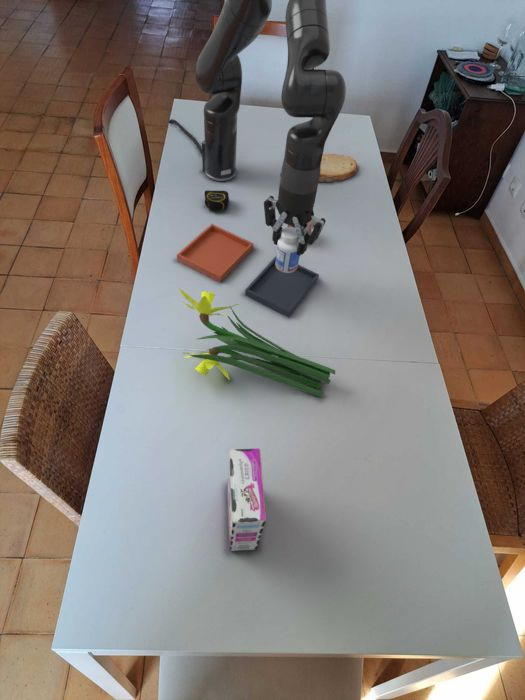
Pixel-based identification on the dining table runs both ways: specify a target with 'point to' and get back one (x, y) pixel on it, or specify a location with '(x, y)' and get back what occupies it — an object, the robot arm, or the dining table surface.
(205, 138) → the robot arm
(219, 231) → the terracotta tray
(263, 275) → the slate tray
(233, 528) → the candy bar box
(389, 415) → the dining table surface
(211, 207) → the tape measure
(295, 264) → the pill bottle
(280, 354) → the daffodil flowers
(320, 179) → the slice of bread
